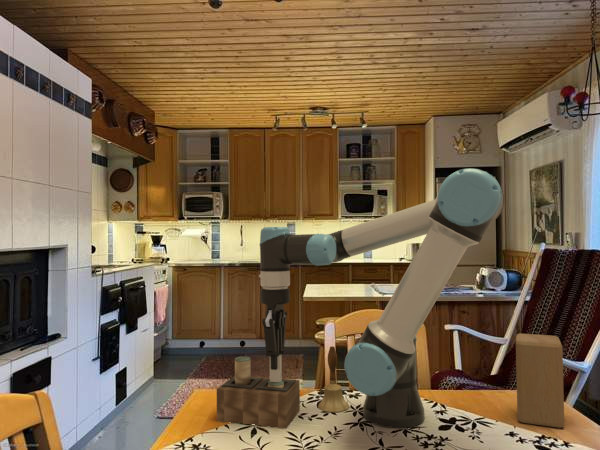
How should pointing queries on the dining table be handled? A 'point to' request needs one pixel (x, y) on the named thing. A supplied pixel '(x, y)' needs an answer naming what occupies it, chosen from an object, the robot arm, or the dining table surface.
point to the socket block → (258, 402)
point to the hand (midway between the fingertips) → (275, 381)
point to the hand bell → (333, 389)
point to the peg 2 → (276, 384)
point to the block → (539, 380)
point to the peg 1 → (242, 371)
